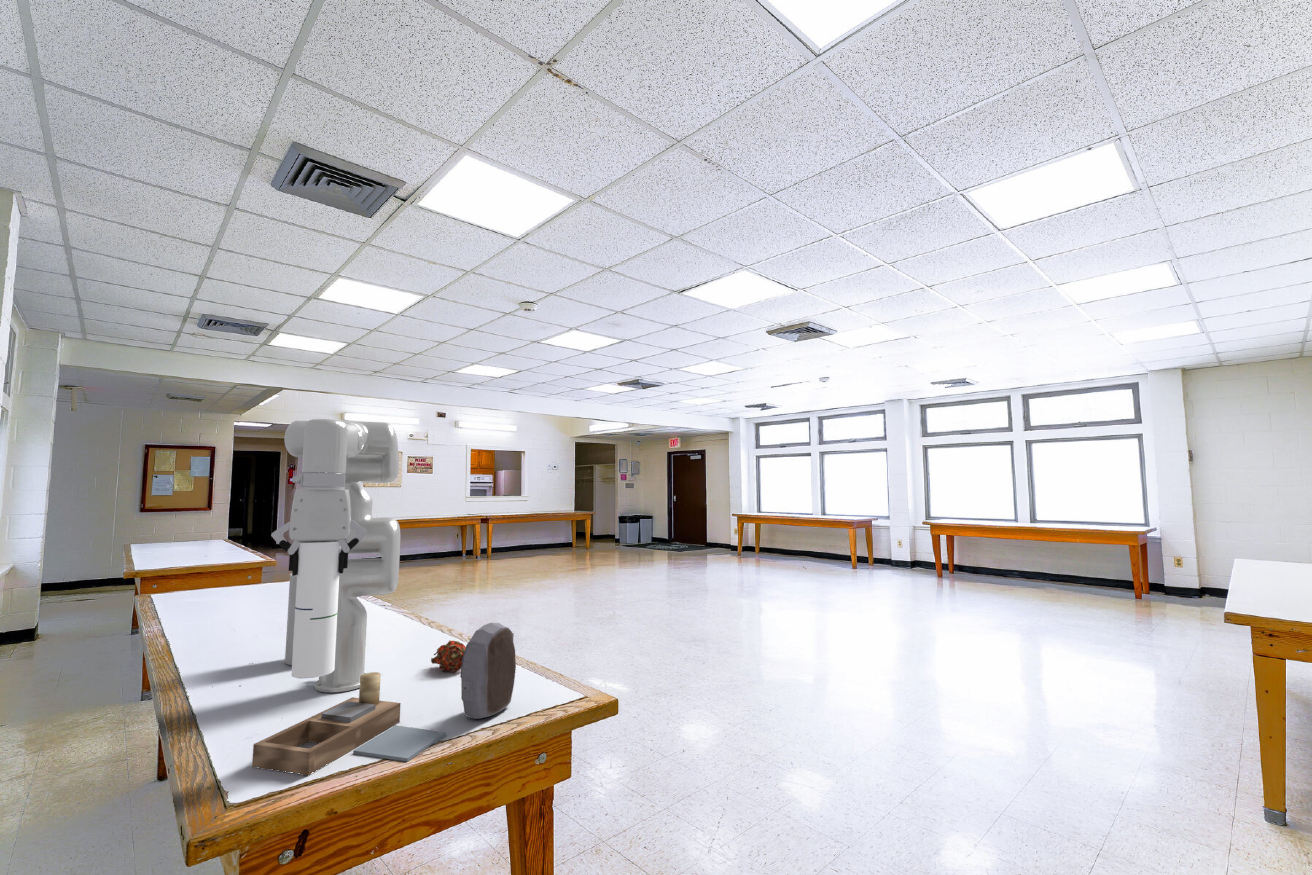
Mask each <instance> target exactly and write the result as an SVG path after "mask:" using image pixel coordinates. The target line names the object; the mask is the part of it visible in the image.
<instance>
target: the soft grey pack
mask: <svg viewBox="0 0 1312 875" xmlns="http://www.w3.org/2000/svg"><path fill="white" fill-rule="evenodd" d="M471 636H472V637H471V638H470V639H469V641H468V642H467V644H466V645H465V647H466V648H465V652H464V655H463V658H462V667H461V668H460V675H459V676H460V678H461V679H460V681H461V682H460V683H461V684H460V685H461V700H462V705H463V713H464V715H465V716H466V717H468V718H471V719H483V718H487V717H491V716H494V715H496V714H498V713H499V712H502V711H503V710H504V709H506V708H507V707H508V706H510V704H511V702H512V697H513V693H514V692H513V691H514V686H515V681H516V680H515V678H516V670H517V669H516V668H517V665H516V664H517V662H516V658H517V657H516V648H515V644H514V639H515V638H514V633H513V631H512V630H511V629H510V628H509V627H507V626H505V625H503V624H501V623H500V622H489V623H486V624H484V625H482V626H481V627H480V628H478V629H476V630H475V631H474V633H473V635H471Z"/></svg>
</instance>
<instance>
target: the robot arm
mask: <svg viewBox="0 0 1312 875" xmlns="http://www.w3.org/2000/svg"><path fill="white" fill-rule="evenodd" d="M285 430H286V431H285V433H284V446H285V449H286V450H287V452H288V453H289V455H291V456H292V457H295V458H296V457H297V458H302V463H301V464H302V465H301V473H300V474H299V475H298V474H297V475H293V476H292V479H291V480H292V483H293V484H299V485H300V488H297V489H295V492H294V495H293V499H292V500H293V501H292V505H291V510H290V511H291V512H290V518H289V521H288V522H287V523H285V524H283V525H282V526H281V527H279V528H277V529H276V530H274V531H273V532H272V533H271V535H270V536H271V537H272V538H273V540H274V541H275V542H276V543H277V544H278V545H279V546H280V547H281V548H282V549H283V551H285V552H286V553H287V555H289V557H288V572H291V574H292V576H296V575H297V568H298V550H299V545H300V542H303V541H336V540H337V541H339V545H340V546H341V552H340V559H339V591H338V610H337V629H336V649H335V668H334V671H333V672H332V673H330V674H327V675H324V676H320V677H318V680H316V681H315V683H314V690H316V691H317V692H321V693H330V694H331V693H343V692H349V691H353V690H356V689H360V676H361V675H363V674H365V673H366V672H365V669H366V668H365V666H366V665H365V664H366V661H365V660H366V647H367V645H366V644H367V643H366V642H367V625H368V612H367V610H366V607H365V605H364V604H363V603H362V602H361V601H360V599H358V598H359V597H361V598H362V597H367V596H368V597H369V596H370V597H371V596H386V595H387V596H388V595H391V594H393V593H394V592H395V591H396V590H397V589H398V584H399V579H400V578H399V575H400V559H401V557H400V556H401V527H400V524H399V522H398V520H397V519H395V518H392V517H373V516H372V511H373V499H372V498H373V497H372V496H371V495H370V493H369V492H368V490H367V489H366V488H365V487H364V486H363V485H361V483H364V484H367V483H369V484H375V483H376V484H377V483H379V484H387V483H392V482H394V481H395V480H396V479H397V478H398V475H399V473H400V472H399V471H400V460H399V445H398V435H397V432H396V430H395V428H394V427H393V425H391V424H390V423H388V422H383V421H382V422H378V421H376V422H375V421H359V420H358V421H357V420H345V419H344V420H342V419H340V420H338V419H326V418H325V419H324V418H314V419H309V420H294V421H292V422H291V423H289V425H288V426H287V427H286V429H285ZM288 531H289V532H288ZM286 532H288V533H289V534H288V535H289V538H290V539H291V541H293V542H292V543H290V542H289V541H288V540H287V539H286V538H285V537H284V533H286ZM357 554H358V555H360V554H362V555H366V554H376V555H377V554H378V555H380V557H381V558H380V557H379V558H349V555H357Z"/></svg>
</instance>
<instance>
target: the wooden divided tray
mask: <svg viewBox="0 0 1312 875" xmlns="http://www.w3.org/2000/svg"><path fill="white" fill-rule="evenodd" d="M364 673H365V674H363V675H361V676H360V688H359V690H358V691H359V692H358V694H359V695H358V697H353V696H352V697H350V698H348V699H346V700H344V701H342V702H340V703H338V704H335V705H333V706H330V707H329V708H327V709H325V710H322V711H320V712H319V713H316V714H315V715H313V716H310V717H308V718H305V719H304V720H301V721H299V722H297V723H295V724H294V725H291V726H288V727H287V728H284V729H283V730H281V731H279V732H278V731H277V733H273V734H272V735H269V736H268V737H266V738H264V739H262V740H259V741H258V742H256V743H253V744H252V746H253V748H252V761H251V762H252V763H251V764H252V765H251V768H255V767H259V768H258V769H261V768H263V770H267V769H273V770H279V771H278V772H280V771H284V772H283V773H286V772H293V773H300V774H303V775H302V776H304V775H309V776H311V775H312V774H311V773H312V772H314V773H316V772H317V771H316V770H318V769H319V770H321V769H322V768H321V767H323V766H325V765H326V764H328V765H330V764H331V763H333V762H335V761H336V760H339V759H340V758H341V757H343V756H344V755H347V754H348V753H350V752H352V751H353V750H355V749H357V748H358V747H360V746H362V745H363V744H365V743H367V742H369V741H370V740H372V739H374V738H375V737H377V736H379V735H380V734H382V733H384V732H385V731H387V730H389V729H390V728H392V727H394V726H395V725H396V726H397V724H399V723H400V722H401V704H402V703H401V702H394V701H387V700H386V701H385V700H380V696H381V695H380V694H381V692H380V691H381V675H382V674H381V673H380V672H375V671H371V672H364ZM309 742H310V743H314V744H315V743H317V744H316V745H314V746H312V747H310V748H305V747H301V746H302V745H304V744H306V743H309ZM299 745H300V746H299ZM297 746H298V747H297ZM334 760H335V761H334ZM332 761H333V762H332ZM330 762H331V763H330ZM329 763H330V764H329ZM326 766H327V765H326ZM326 766H325V767H326ZM320 768H321V769H320ZM323 768H324V767H323ZM273 770H272V771H273ZM319 770H318V771H319ZM285 771H286V772H285ZM315 771H316V772H315ZM310 774H311V775H310Z"/></svg>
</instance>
